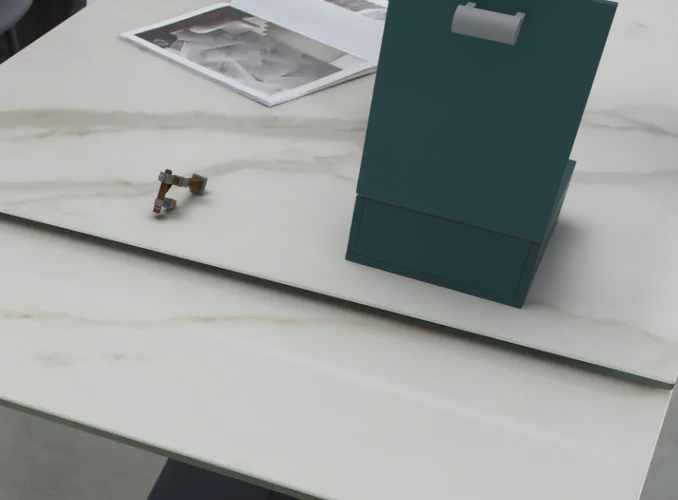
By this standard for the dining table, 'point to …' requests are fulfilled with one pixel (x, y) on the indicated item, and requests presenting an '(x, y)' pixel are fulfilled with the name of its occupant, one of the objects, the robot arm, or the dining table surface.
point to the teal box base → (449, 248)
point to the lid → (481, 106)
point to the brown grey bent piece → (168, 180)
